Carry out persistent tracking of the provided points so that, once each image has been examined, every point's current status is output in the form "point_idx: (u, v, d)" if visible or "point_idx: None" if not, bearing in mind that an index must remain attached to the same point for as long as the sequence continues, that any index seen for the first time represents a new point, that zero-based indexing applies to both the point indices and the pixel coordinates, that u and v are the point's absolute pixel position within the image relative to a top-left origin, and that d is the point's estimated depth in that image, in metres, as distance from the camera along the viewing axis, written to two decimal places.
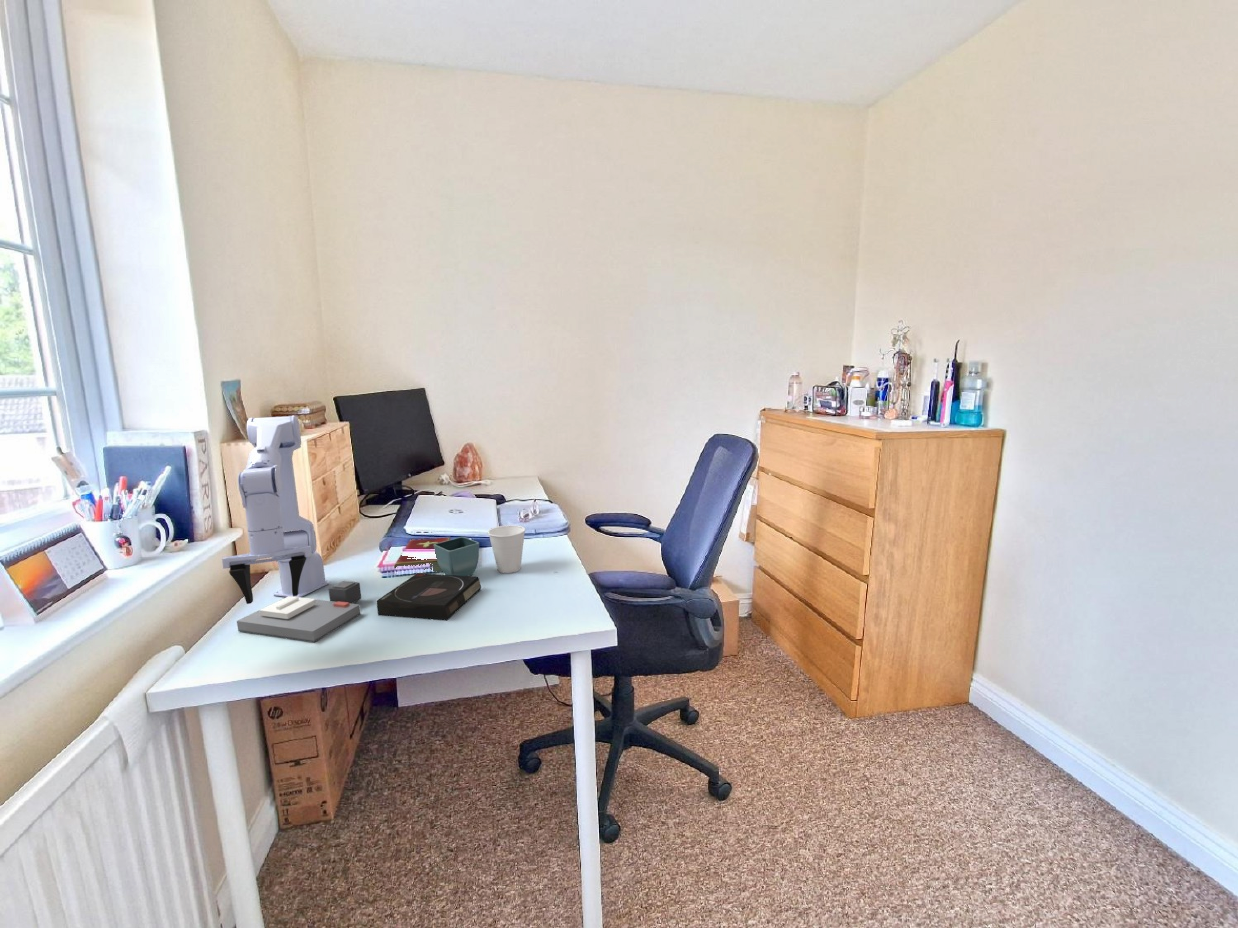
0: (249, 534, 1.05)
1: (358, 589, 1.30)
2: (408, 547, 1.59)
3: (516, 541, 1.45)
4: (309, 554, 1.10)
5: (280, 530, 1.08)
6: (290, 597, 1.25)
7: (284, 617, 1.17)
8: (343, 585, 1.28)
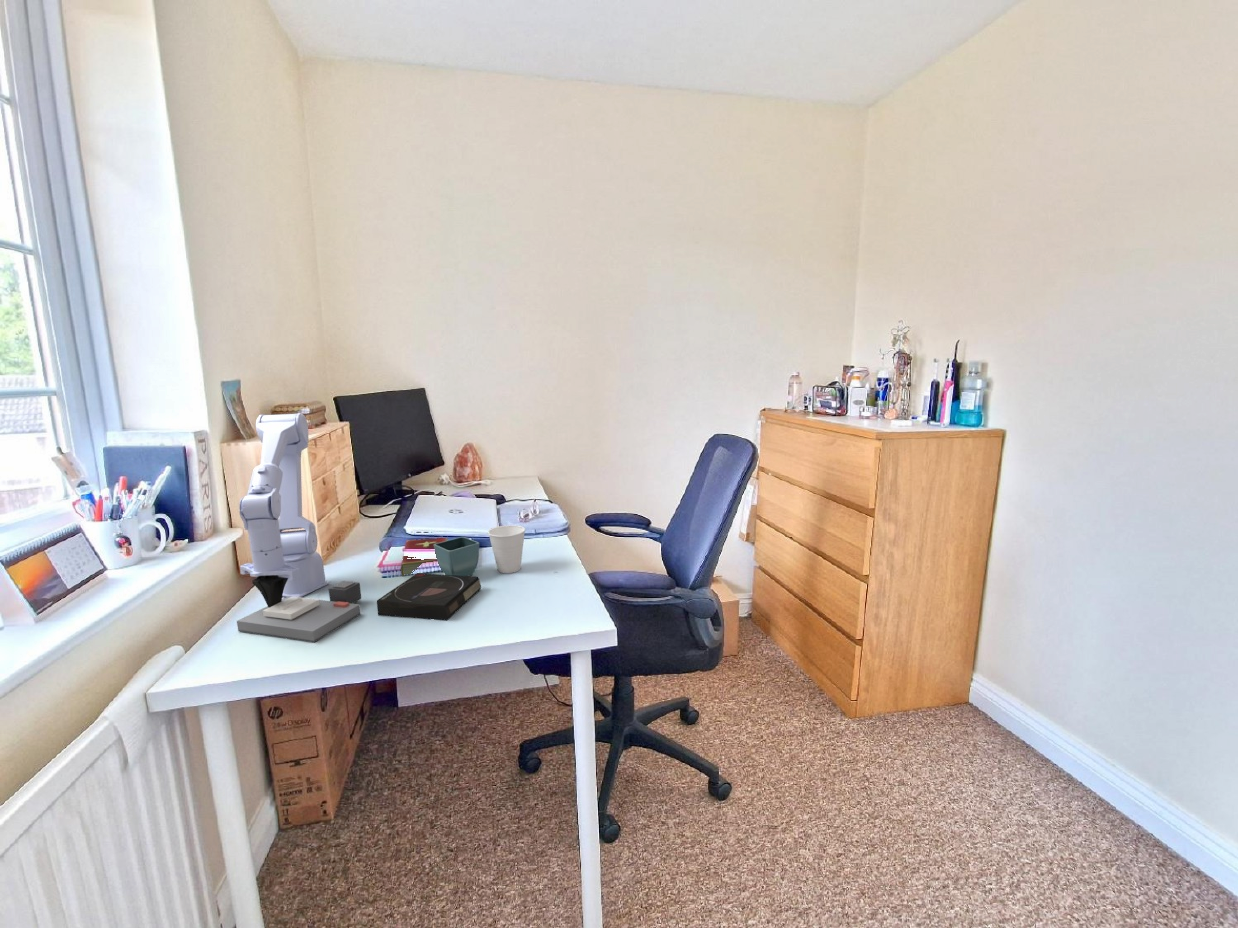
0: None
1: (358, 589, 1.30)
2: (408, 547, 1.59)
3: (516, 541, 1.45)
4: (292, 578, 1.18)
5: (271, 552, 1.18)
6: (293, 597, 1.25)
7: (288, 617, 1.17)
8: (343, 585, 1.28)
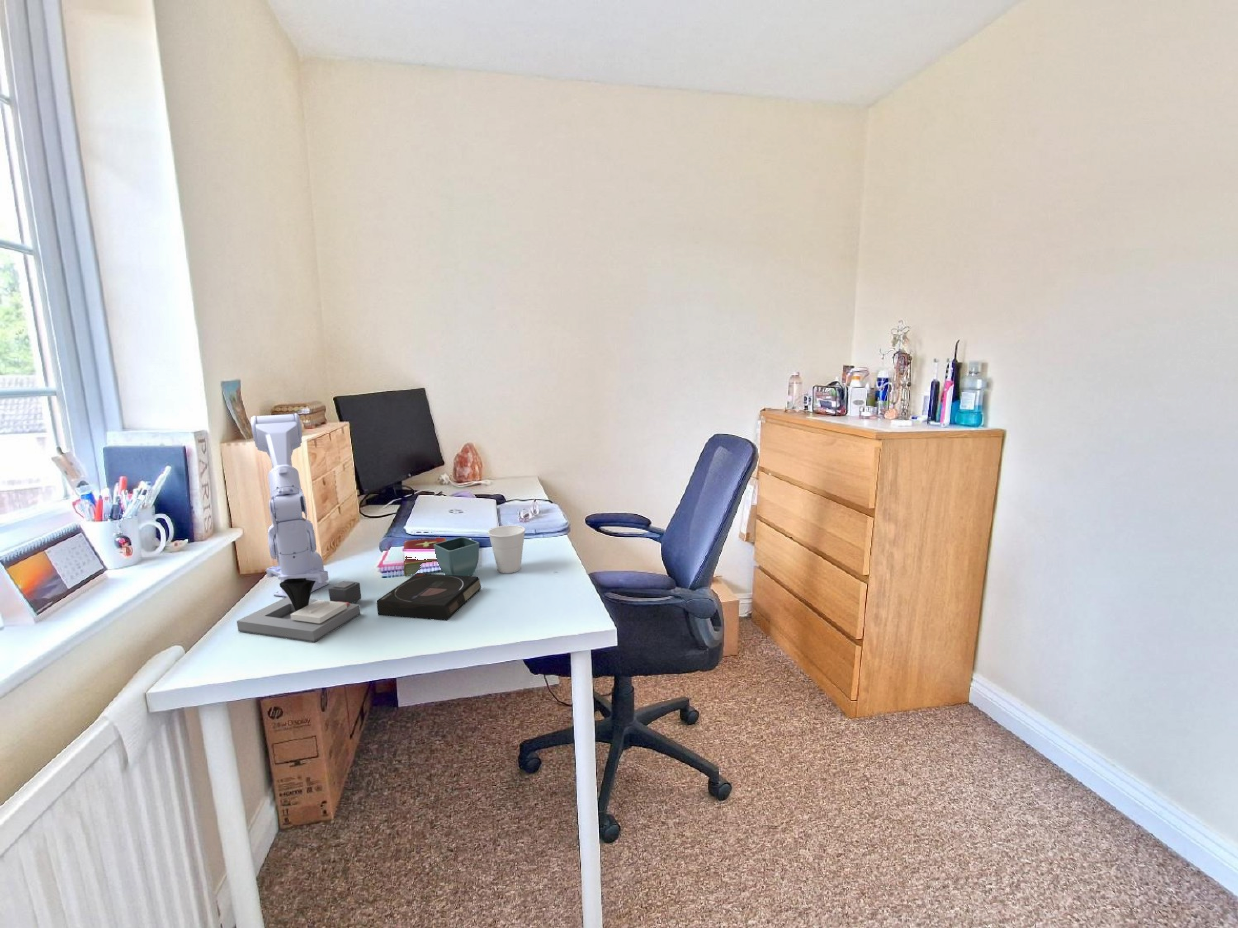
0: None
1: (358, 589, 1.30)
2: (408, 548, 1.59)
3: (516, 541, 1.45)
4: (320, 581, 1.16)
5: (299, 555, 1.16)
6: (320, 601, 1.23)
7: (316, 621, 1.15)
8: (343, 585, 1.28)
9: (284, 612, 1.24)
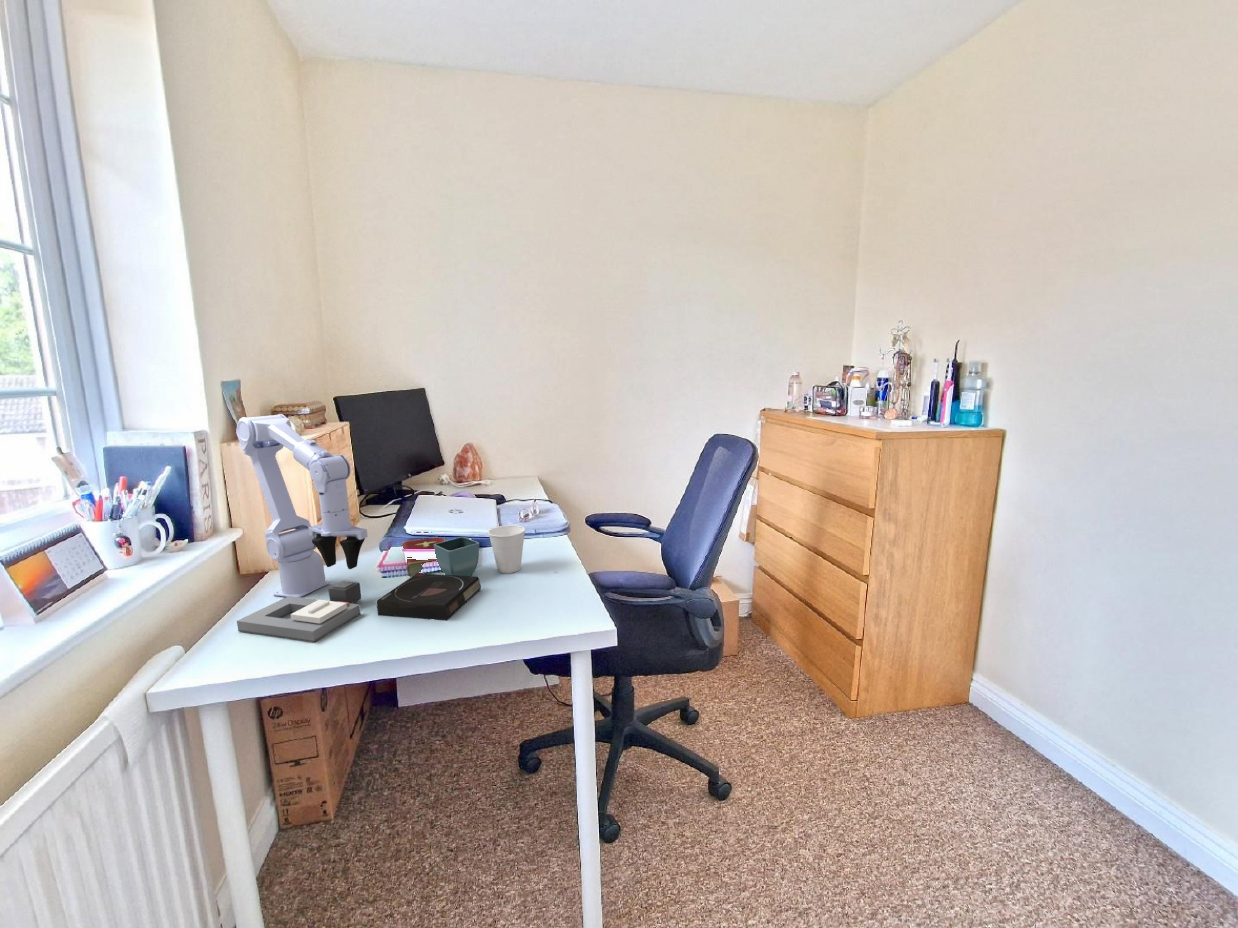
0: None
1: (358, 589, 1.30)
2: (408, 548, 1.58)
3: (516, 541, 1.45)
4: (360, 537, 1.24)
5: (340, 513, 1.24)
6: (320, 601, 1.23)
7: (316, 621, 1.15)
8: (343, 585, 1.28)
9: (284, 612, 1.24)
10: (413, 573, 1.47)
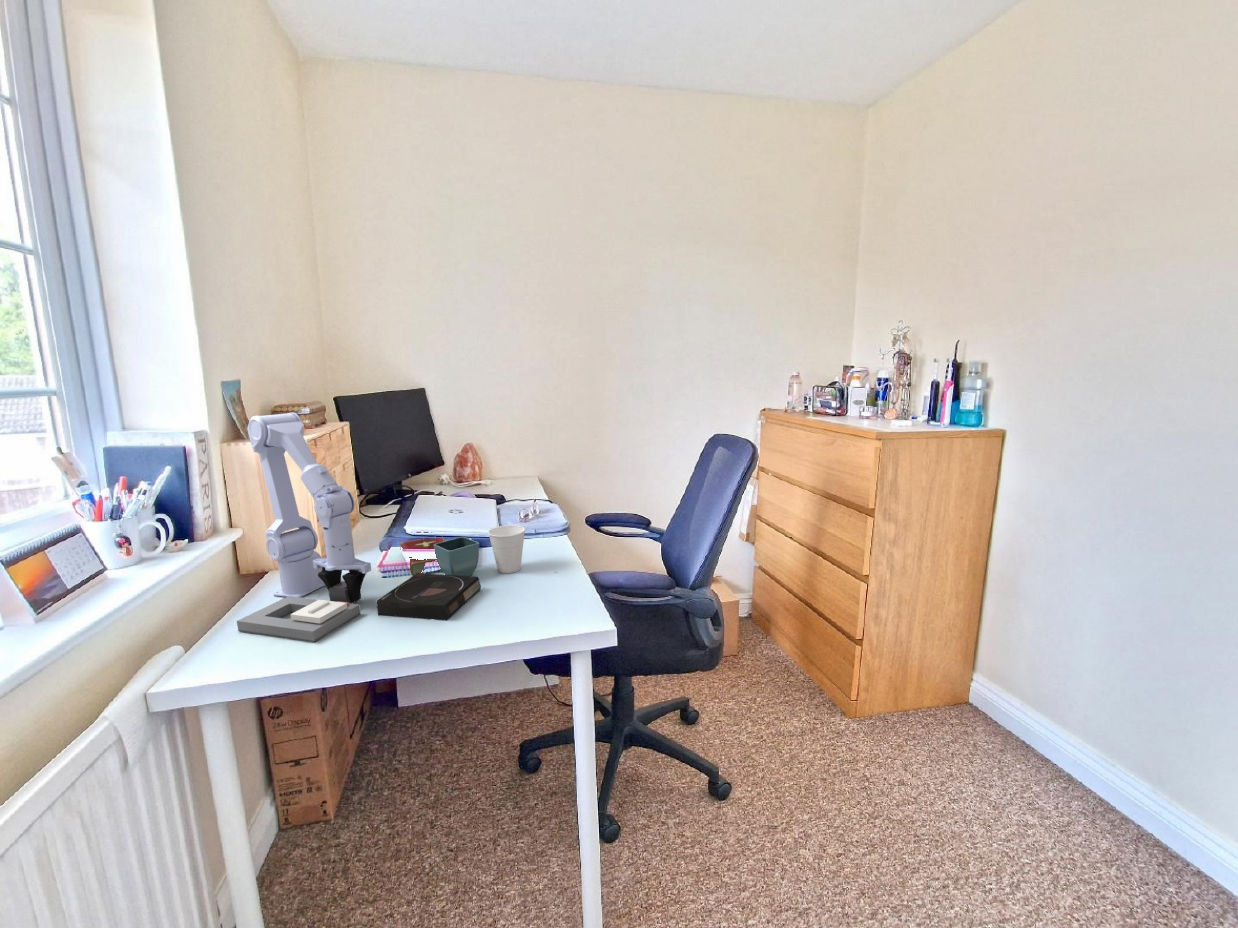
0: None
1: None
2: (408, 548, 1.58)
3: (516, 541, 1.45)
4: (364, 571, 1.25)
5: (344, 547, 1.25)
6: (320, 601, 1.23)
7: (316, 621, 1.15)
8: (343, 585, 1.28)
9: (284, 612, 1.24)
10: (416, 573, 1.47)
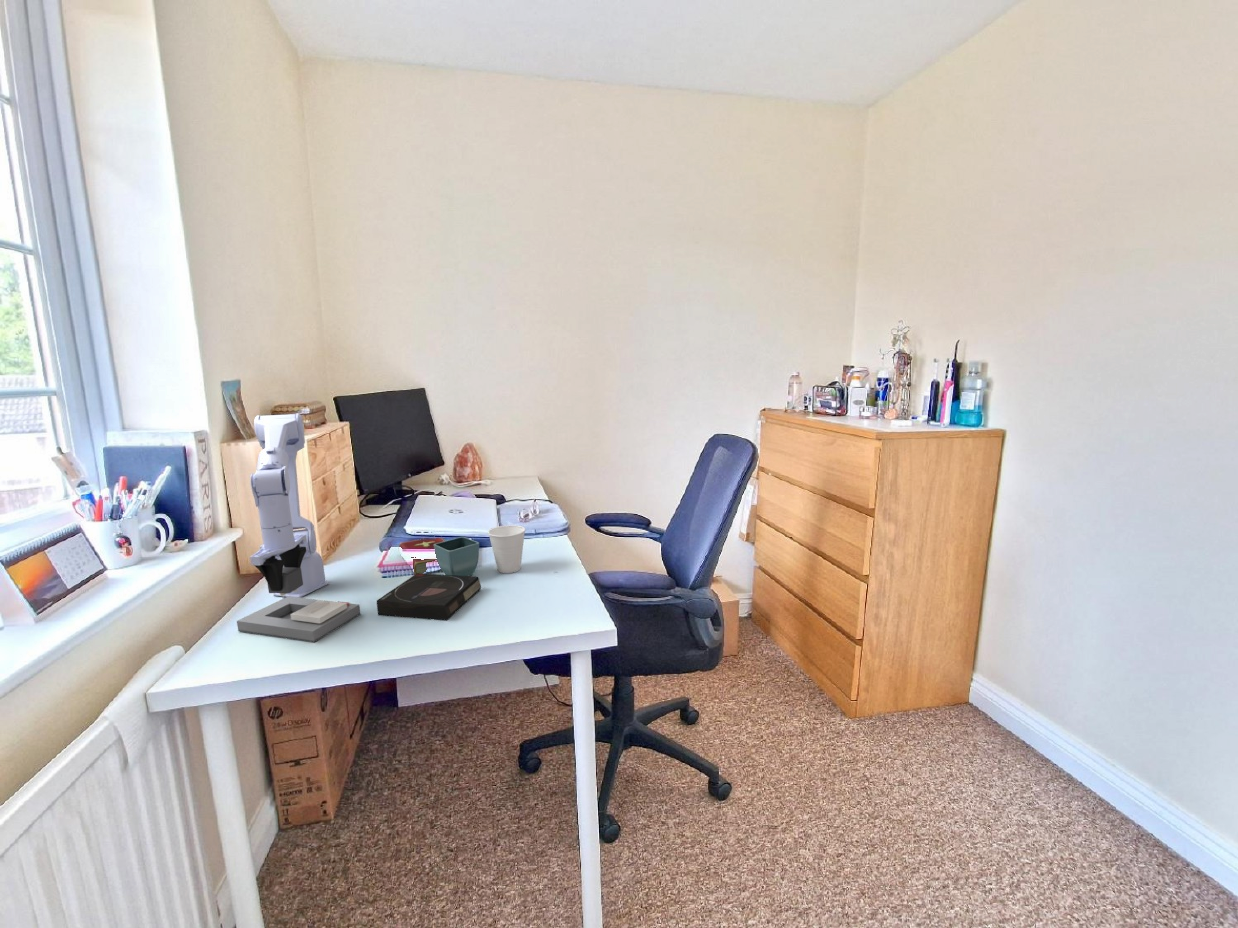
0: None
1: (285, 582, 1.18)
2: (408, 548, 1.58)
3: (516, 541, 1.45)
4: None
5: (262, 530, 1.16)
6: (320, 601, 1.23)
7: (316, 621, 1.15)
8: None
9: (284, 612, 1.24)
10: (420, 572, 1.47)
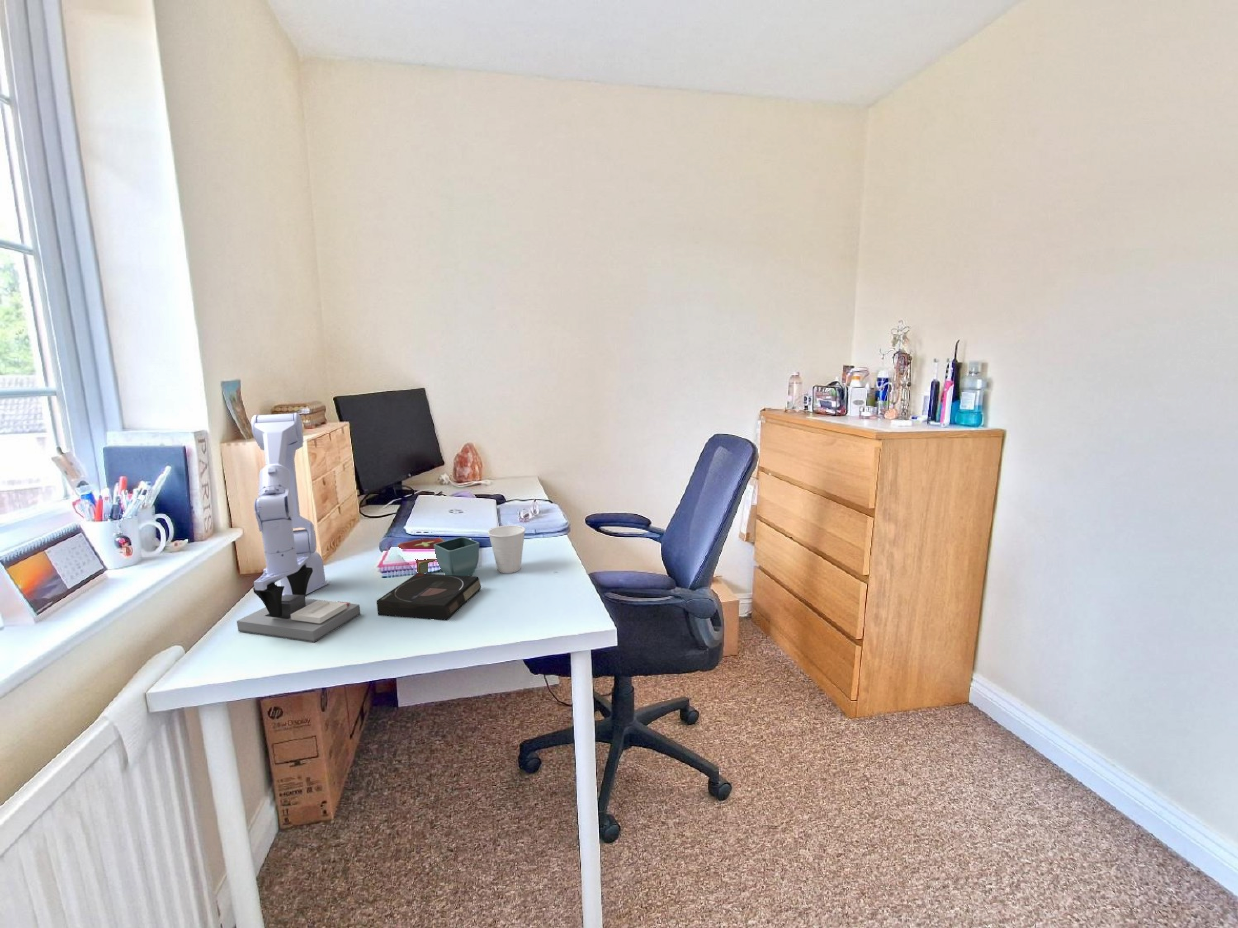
0: None
1: (288, 610, 1.19)
2: None
3: (516, 541, 1.44)
4: None
5: (266, 555, 1.17)
6: (320, 601, 1.23)
7: (316, 621, 1.15)
8: (283, 598, 1.21)
9: None
10: (423, 572, 1.48)
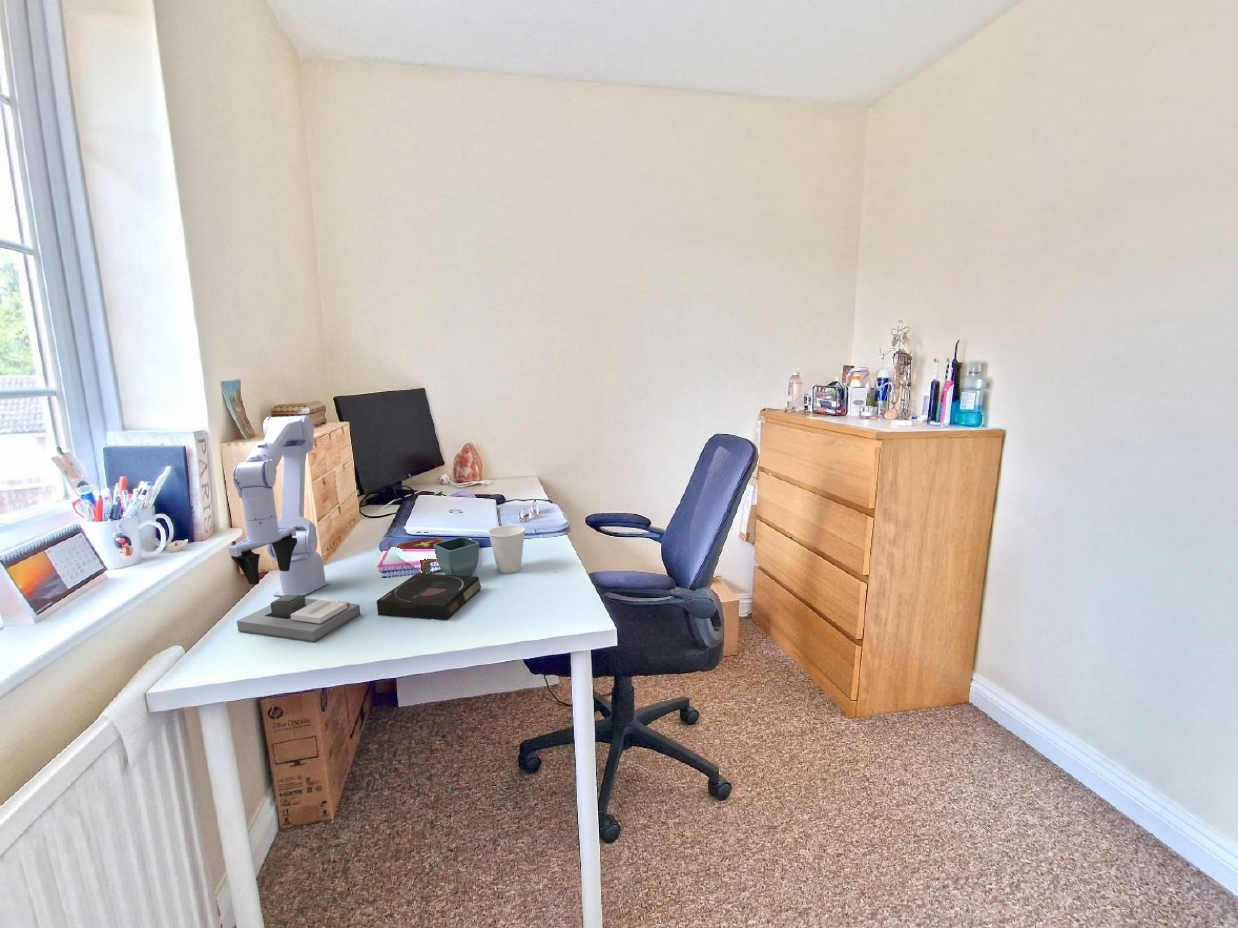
0: None
1: (288, 610, 1.19)
2: None
3: (516, 541, 1.45)
4: None
5: (246, 522, 1.17)
6: (320, 601, 1.23)
7: (316, 621, 1.15)
8: (283, 598, 1.21)
9: None
10: (428, 571, 1.48)
